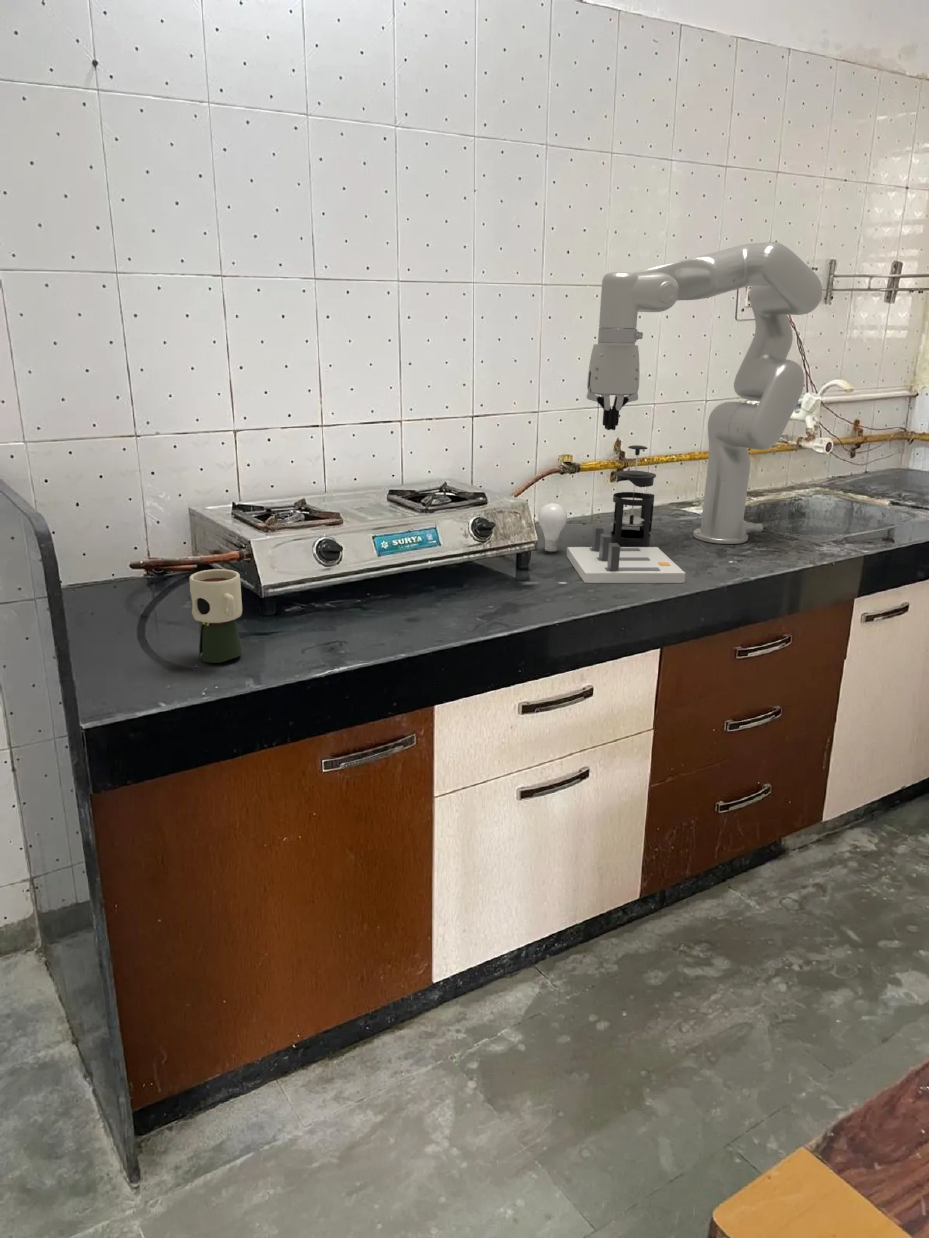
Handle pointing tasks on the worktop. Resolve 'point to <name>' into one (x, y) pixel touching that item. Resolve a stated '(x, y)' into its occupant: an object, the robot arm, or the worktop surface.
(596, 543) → the breaker
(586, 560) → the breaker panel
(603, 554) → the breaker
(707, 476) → the robot arm
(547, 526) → the lightbulb
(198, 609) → the character mug
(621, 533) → the french press
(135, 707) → the worktop surface
